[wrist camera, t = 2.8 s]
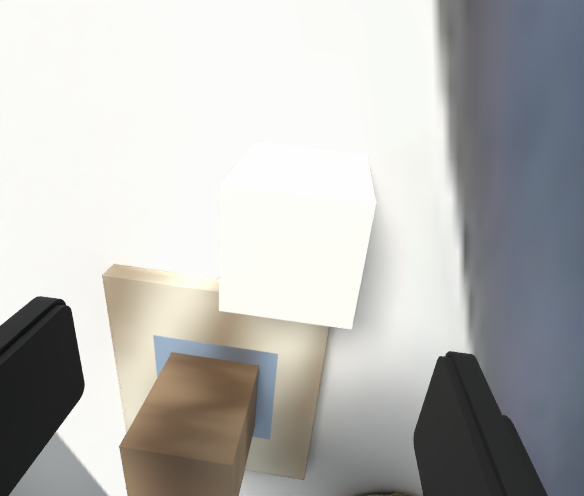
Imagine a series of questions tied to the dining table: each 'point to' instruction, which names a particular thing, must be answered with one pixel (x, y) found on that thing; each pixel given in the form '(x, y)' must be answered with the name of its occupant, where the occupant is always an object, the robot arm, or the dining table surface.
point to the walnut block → (192, 429)
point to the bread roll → (394, 495)
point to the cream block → (295, 234)
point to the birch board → (218, 355)
